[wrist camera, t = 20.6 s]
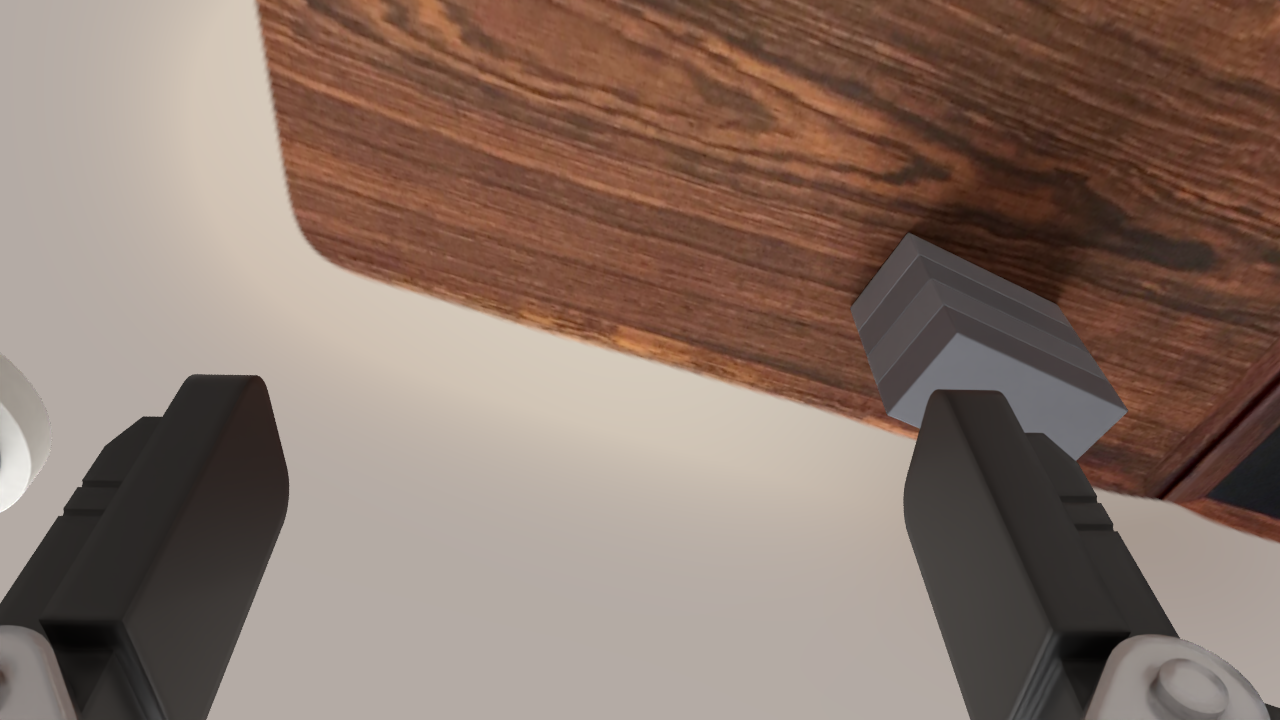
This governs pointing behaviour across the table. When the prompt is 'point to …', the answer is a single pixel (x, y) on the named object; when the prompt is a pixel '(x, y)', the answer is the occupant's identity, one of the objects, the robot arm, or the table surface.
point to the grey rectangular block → (979, 346)
